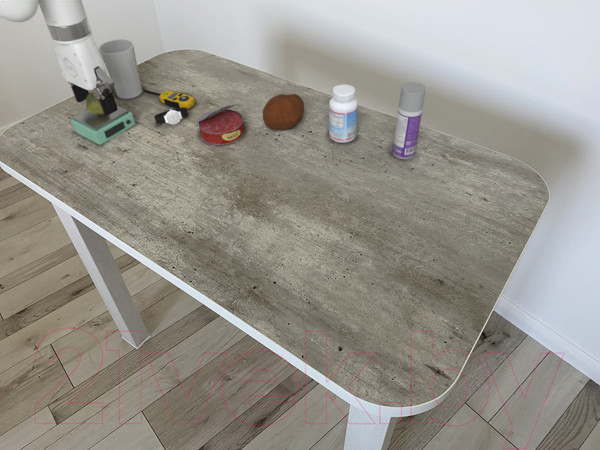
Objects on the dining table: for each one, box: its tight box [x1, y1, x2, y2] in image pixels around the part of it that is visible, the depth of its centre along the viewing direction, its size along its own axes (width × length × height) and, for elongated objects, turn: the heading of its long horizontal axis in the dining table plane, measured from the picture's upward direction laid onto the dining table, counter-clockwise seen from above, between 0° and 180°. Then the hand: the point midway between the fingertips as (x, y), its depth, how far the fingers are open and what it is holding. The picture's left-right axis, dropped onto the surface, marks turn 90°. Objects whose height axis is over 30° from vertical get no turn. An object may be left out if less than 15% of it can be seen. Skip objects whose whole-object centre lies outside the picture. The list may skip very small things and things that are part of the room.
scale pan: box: [72, 105, 130, 131], centre depth 108 cm, size 9×8×1 cm
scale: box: [70, 111, 136, 146], centre depth 110 cm, size 10×9×3 cm
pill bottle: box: [328, 83, 359, 144], centre depth 102 cm, size 6×6×11 cm
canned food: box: [196, 103, 245, 146], centre depth 106 cm, size 11×10×10 cm
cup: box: [98, 38, 143, 100], centre depth 118 cm, size 8×8×12 cm
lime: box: [85, 92, 104, 115], centre depth 106 cm, size 4×5×5 cm
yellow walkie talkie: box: [143, 89, 196, 110], centre depth 119 cm, size 5×2×15 cm
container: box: [391, 81, 426, 160], centre depth 96 cm, size 5×5×15 cm
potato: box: [262, 93, 305, 131], centre depth 107 cm, size 8×11×8 cm
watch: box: [154, 108, 189, 125], centre depth 111 cm, size 8×5×4 cm, turn 118°
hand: (97, 106), depth 107 cm, fingers open, 9 cm apart
